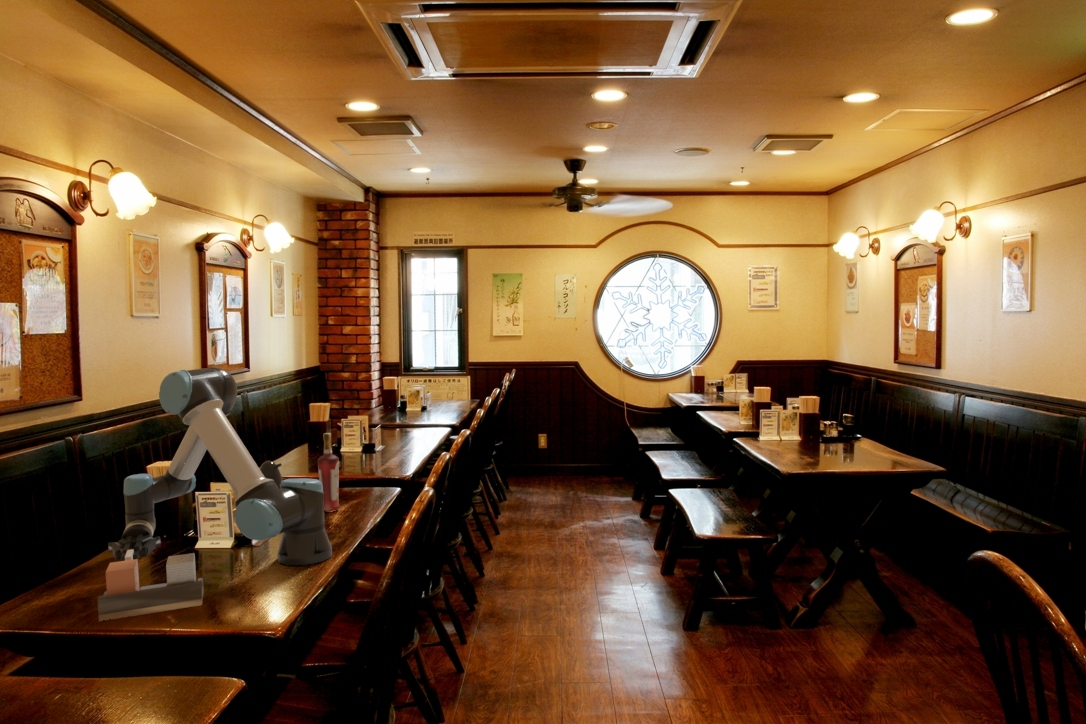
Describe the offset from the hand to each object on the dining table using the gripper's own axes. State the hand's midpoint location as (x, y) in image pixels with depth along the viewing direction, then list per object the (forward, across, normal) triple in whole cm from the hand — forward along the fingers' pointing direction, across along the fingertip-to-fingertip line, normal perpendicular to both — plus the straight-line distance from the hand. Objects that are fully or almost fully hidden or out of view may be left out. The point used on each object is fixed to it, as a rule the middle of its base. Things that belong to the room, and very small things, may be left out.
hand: (128, 562), depth 190 cm
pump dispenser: (-82, -39, -8) cm, 91 cm away
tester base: (+12, -6, -8) cm, 16 cm away
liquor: (-56, -58, -8) cm, 81 cm away
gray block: (+12, -13, -6) cm, 18 cm away
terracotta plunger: (+10, 0, -7) cm, 12 cm away
